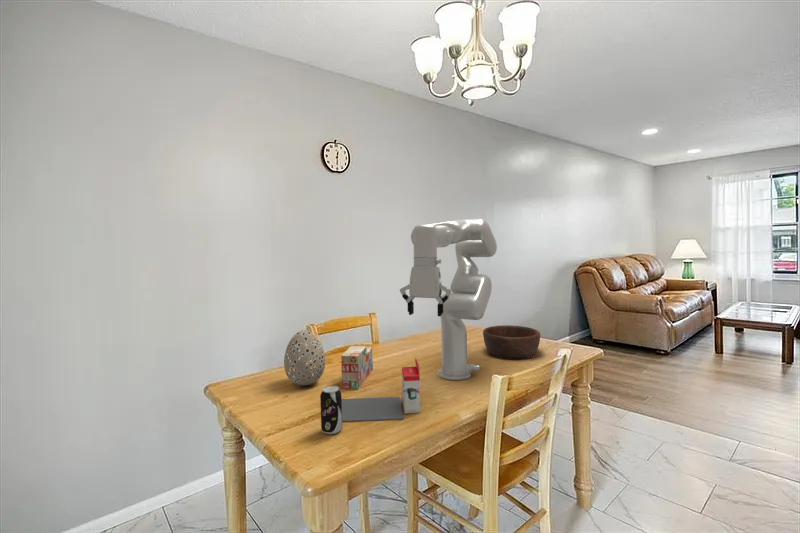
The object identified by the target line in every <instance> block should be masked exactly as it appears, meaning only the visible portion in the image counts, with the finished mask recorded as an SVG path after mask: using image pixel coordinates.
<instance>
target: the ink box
mask: <svg viewBox="0 0 800 533" xmlns="http://www.w3.org/2000/svg"><path fill="white" fill-rule="evenodd" d="M414 359H415V366H402V367H401V377H402V378H401V382H402V383H401V384H402V386H401V389H402V393H401V394H402V395H401V396H402V397H401V399H402V400H401V403H402V406H403V411H404V414H417V413H421V384H420V383H421V381H420V380H421V378H420V375H421V374H420V364H419V361H418V360H417V358H416V357H415V358H414Z"/></svg>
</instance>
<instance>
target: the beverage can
mask: <svg viewBox="0 0 800 533" xmlns="http://www.w3.org/2000/svg"><path fill="white" fill-rule="evenodd" d="M319 396H320V397H319V398H320V400H319V402H320V425H321V432H322V433H323V434H327V435H335V434H337V433H339V432H340V431H342V429H343V422H342V399H343V398H342V392H341V390H340V387H339V386H337V385H327V386H324V387H322V391H321V392H320V394H319Z"/></svg>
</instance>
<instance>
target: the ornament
mask: <svg viewBox="0 0 800 533" xmlns="http://www.w3.org/2000/svg"><path fill="white" fill-rule="evenodd" d="M322 345H323V344H322V343H321V342H320V340H319V338H318V337H317V336H316V335H315V334H314V333H313V332H311V331H309V330H306V329H302V330H300V331H298V332H296V333H295V334H294V335H293V336H292V337H291V339H290V340H289V342H288V344H287V346H286V349H285V352H284V359H283V367H284V373H285V374H286V376H287V378H288V379H289V381H290V382H292V383H293V384H295V385H298V386H309V385H312V384H314V383H316V382H317V381H319V379H320V378H321V377H322V375H323V373H324V371H325V368H326V355H325V352H324V351H325V350H324V348H323V346H322Z"/></svg>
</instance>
